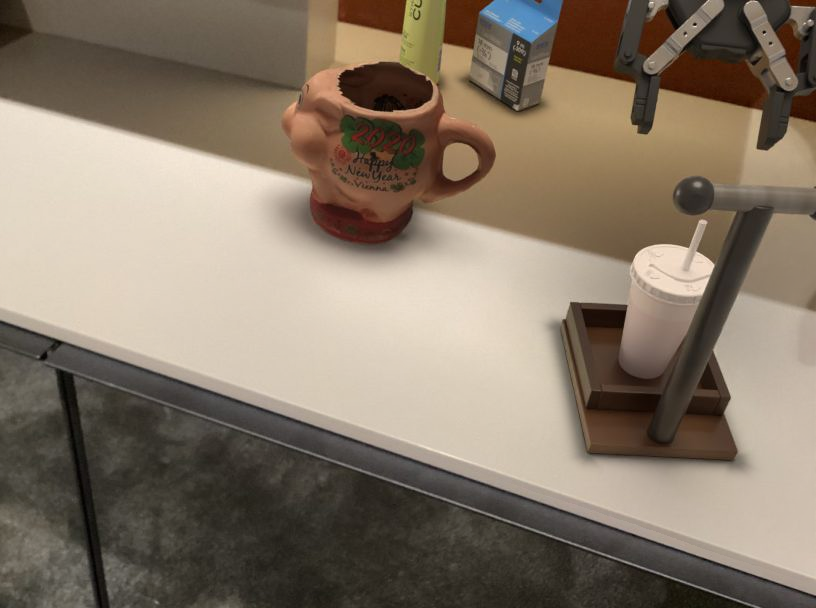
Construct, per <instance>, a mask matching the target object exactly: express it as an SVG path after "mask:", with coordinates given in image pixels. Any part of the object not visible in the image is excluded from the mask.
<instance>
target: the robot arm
mask: <svg viewBox="0 0 816 608" xmlns="http://www.w3.org/2000/svg"><path fill="white" fill-rule="evenodd" d="M660 11H665V15H666V17H667V19H668V20H669V23H670V25H671V27H672V28H673V30H674V32H673V33H672V34H671V35H670V36H669V37H668V38H666V40H665V41H664V42H663V43H662V44H661V45H660V46H659V47H658V48H657V49H655V51H654V52H653V53H651V54H650V55H649V57H647V56H645V55H644V54H642V53H640V52H638V51H639V46H640V43H641V38H642V33H643V30H644V26H645V23H650V22H651V21H653V19H654V18H655V17H656V15H657V13H658V12H660ZM785 24H787V25H789V26H790V27H791V28H792V33H793V36H794V38H795V39H796V40H800V42H799V52H798V60H797V71H796V73H795V72H794V70H793V68H792V66H791V65H790V63H789V62H788V59H787V57H786V55H787V52H786V49H785V47H784V46H783V44H782V42H781V40H780V39H779V37H778V36H777V32H778V31H779V30H781V29H782V27H783V26H784V25H785ZM685 52H686V53H688V54H689V55H690V56H693V60H697V61H708V60H718V61H721V62H723V63H725V64H732V65H738V64H739V62H743V61H744V62H745V63H746V65H747V67H748V69H749V70H750V72H751V74H752V76H754V77H755V78H757V79H758V80H759V82H760V83H761V85H762V87H763V88H764V90H765V92H766V93H767V95H768V97H767V98H766V99H765V100H764V101H763V105H762V110H761V111H762V112H761V117H760V123H759V129H758V135H757V140H756V150H759V151H766V152H768V151H769V150H771V149H772V148H773V147H774V146H775V145H776V144H777V143H779V142H780V141H781V140H783V139H784V137H785V136H786V134H787V133H788V127H789V123H790V116H791V110H792V103H793V99H794V97H799V96H800V97H807V96H809V95H810V94H812V93H813V92H814V91H815V90H816V6H803V5H802V6H800V5H792V4H791V2H790V0H628V2H627V6H626V10H625V14H624V17H623V23H622V27H621V31H620V35H619V39H618V44H617V48H616V51H615V56H614V61H613V70H614V71H615V72H616V73H618V74H625V75H627V76H629V77H631V78H632V79H633V80H634V82H635V87H634V88H635V89H634V94H633V101H632V105H631V106H632V107H631V111H630V123H631V125H632V126H637V128H636V130H637V131H636V134H639V135H645V136H647V135H649V133H650V132H651V130H652V129H653V125H654V121H655V116H656V109H657V103H658V97H659V92H660V88H661V87H660V86H661V80H662V77H661V76H659V75H661V73H663V72H664V71H665V70H666V69H667V68H668V67H670V66H671V65H672V64H673V63H674V62H675V61H676V60H678V59H679V57H680V56H682V55H683V54H684V53H685Z"/></svg>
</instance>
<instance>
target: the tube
mask: <svg viewBox="0 0 816 608" xmlns="http://www.w3.org/2000/svg"><path fill="white" fill-rule="evenodd" d="M446 11H447V0H406V1H405V9H404V17H403V24H402V33H401V40H400V50H399V59H398V62H399V63H401V64H402V65H403V66H406V67H409V68H412V69H414V70H416V71H418V72H420V73H422V74H424V75H426V76H427V77H429V78H430V79H431V80H432V81H433V82H434V83H435V84H436V85H437V84H438V83H439V82H440V75H441V68H442V67H441V65H442V56H443V55H442V54H443V46H444V35H445V22H446Z"/></svg>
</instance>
